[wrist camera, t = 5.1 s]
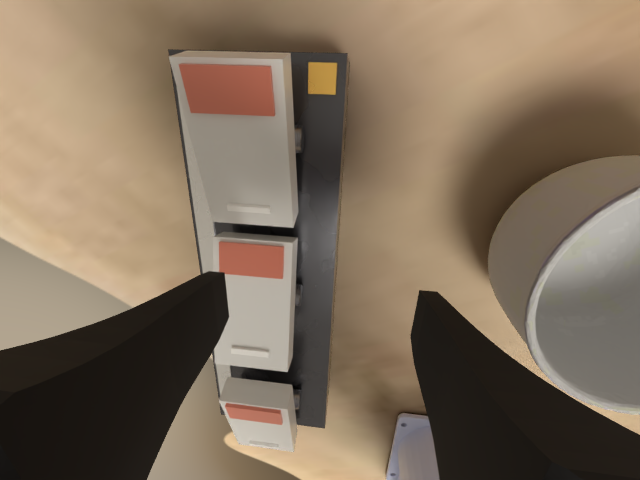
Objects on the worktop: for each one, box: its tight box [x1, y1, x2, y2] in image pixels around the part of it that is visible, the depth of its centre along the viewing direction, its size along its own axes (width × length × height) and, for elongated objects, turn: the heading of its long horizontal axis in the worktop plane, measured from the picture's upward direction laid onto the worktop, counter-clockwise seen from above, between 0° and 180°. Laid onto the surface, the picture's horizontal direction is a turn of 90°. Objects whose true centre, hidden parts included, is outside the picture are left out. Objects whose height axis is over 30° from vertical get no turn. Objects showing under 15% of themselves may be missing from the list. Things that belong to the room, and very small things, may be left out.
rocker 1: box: [169, 51, 299, 228], centre depth 13 cm, size 7×4×2 cm, turn 178°
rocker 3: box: [219, 377, 297, 452], centre depth 20 cm, size 7×4×2 cm, turn 178°
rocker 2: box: [213, 232, 298, 372], centre depth 16 cm, size 7×4×2 cm, turn 178°
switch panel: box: [168, 49, 350, 428], centre depth 19 cm, size 24×8×5 cm, turn 178°
